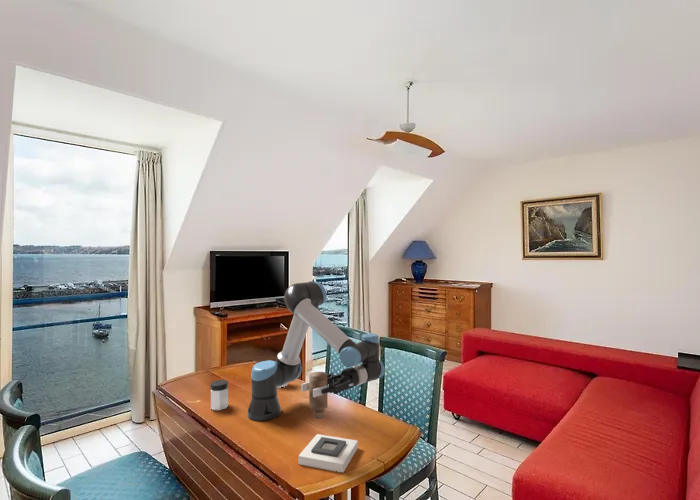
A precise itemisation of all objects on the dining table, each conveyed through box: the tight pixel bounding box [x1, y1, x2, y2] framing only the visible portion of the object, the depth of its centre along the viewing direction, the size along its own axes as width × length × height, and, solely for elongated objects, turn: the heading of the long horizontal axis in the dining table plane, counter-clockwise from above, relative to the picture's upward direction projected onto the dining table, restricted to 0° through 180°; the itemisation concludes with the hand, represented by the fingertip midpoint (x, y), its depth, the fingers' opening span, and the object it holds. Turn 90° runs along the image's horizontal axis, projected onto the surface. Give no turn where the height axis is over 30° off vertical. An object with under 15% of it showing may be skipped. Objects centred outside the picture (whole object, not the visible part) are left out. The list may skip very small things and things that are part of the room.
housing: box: [297, 433, 359, 474], centre depth 143 cm, size 17×17×4 cm
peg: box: [308, 371, 329, 420], centre depth 145 cm, size 7×7×16 cm
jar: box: [209, 379, 229, 411], centre depth 187 cm, size 9×8×12 cm
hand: (307, 390), depth 141 cm, fingers closed on peg, 7 cm apart
